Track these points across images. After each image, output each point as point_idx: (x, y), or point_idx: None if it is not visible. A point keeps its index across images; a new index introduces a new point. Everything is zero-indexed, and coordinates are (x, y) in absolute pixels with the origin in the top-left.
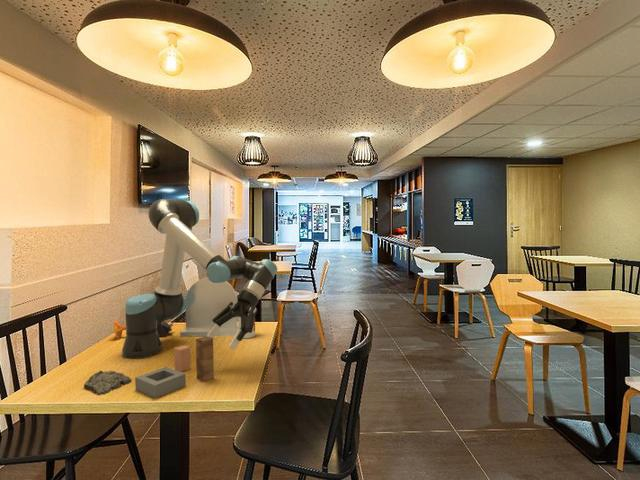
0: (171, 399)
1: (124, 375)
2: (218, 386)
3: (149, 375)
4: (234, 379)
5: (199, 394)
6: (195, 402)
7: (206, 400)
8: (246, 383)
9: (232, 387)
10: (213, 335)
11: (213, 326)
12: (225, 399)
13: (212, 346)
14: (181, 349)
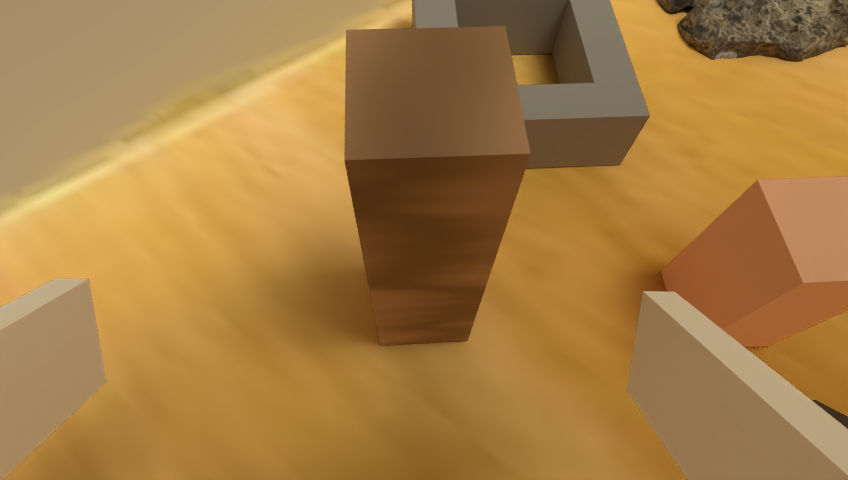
0: (336, 61)
1: (779, 38)
2: (234, 274)
3: (574, 14)
4: (213, 423)
5: (255, 153)
6: (202, 99)
7: (164, 136)
8: (71, 430)
9: (132, 319)
10: (687, 432)
11: (842, 436)
12: (68, 194)
13: (358, 219)
14: (776, 192)
